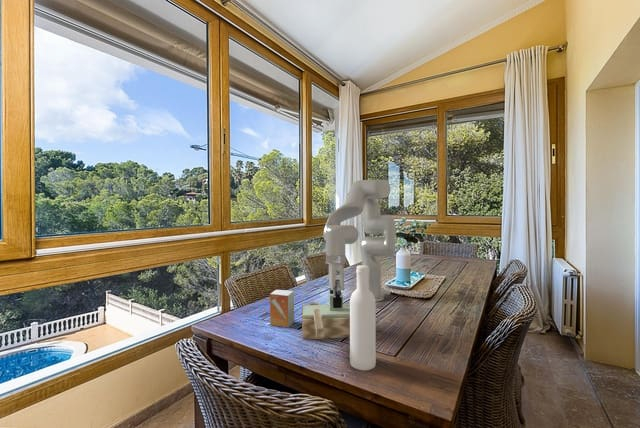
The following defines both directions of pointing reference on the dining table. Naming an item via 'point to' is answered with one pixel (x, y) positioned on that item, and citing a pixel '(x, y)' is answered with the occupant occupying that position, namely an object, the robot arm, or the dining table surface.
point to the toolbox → (326, 327)
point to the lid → (327, 310)
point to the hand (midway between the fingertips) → (335, 303)
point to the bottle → (362, 323)
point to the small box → (282, 308)
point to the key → (318, 324)
